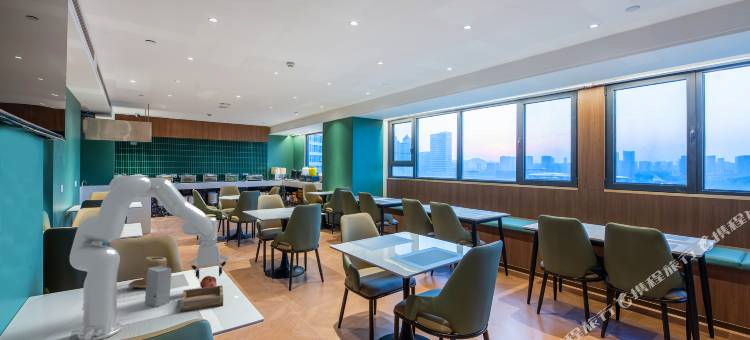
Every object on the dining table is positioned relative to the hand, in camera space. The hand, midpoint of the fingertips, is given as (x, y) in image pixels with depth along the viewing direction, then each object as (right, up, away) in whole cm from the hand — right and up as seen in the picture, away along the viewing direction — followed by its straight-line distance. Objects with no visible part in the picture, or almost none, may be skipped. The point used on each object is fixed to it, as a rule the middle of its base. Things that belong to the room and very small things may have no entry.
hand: (209, 276), depth 170 cm
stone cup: (-33, -7, +5) cm, 34 cm away
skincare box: (-15, -7, -17) cm, 23 cm away
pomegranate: (0, -7, 0) cm, 7 cm away
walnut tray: (+5, -7, -16) cm, 18 cm away
